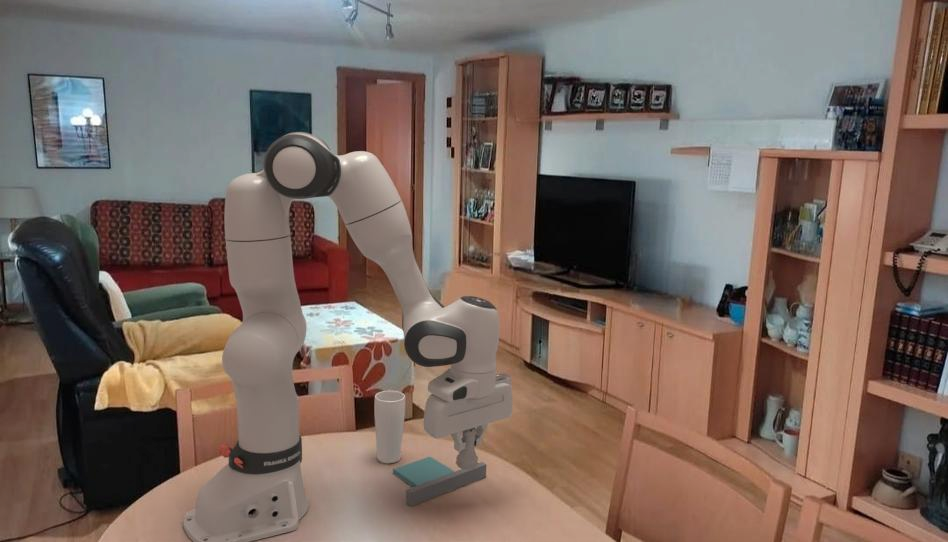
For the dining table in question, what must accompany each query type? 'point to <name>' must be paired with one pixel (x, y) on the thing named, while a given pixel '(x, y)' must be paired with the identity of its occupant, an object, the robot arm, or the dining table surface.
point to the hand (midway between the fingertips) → (467, 447)
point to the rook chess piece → (468, 451)
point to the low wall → (444, 484)
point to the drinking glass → (389, 425)
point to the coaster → (421, 471)
